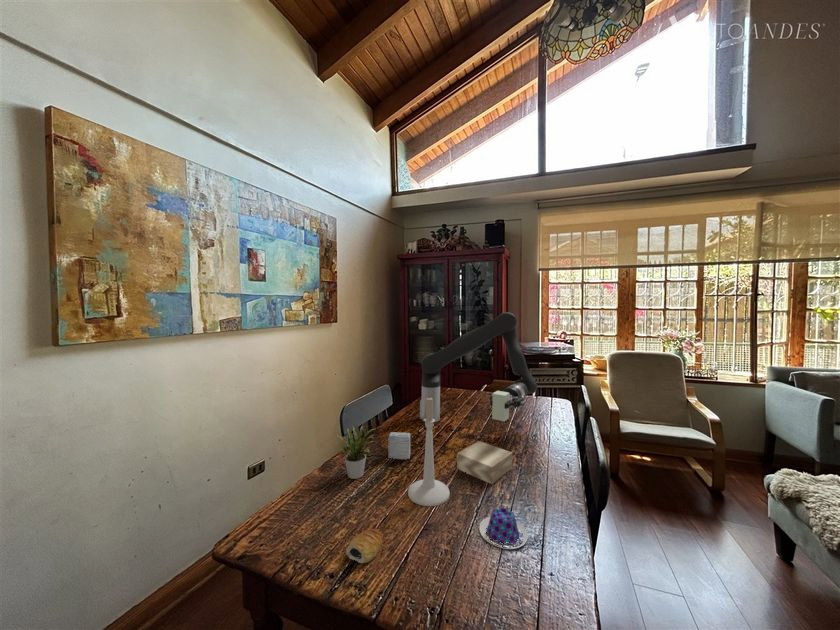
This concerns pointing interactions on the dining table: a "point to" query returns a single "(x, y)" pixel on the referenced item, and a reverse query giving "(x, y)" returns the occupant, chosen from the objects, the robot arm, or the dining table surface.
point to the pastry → (365, 546)
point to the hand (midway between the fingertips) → (498, 404)
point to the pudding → (502, 527)
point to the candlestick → (429, 471)
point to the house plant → (356, 453)
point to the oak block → (484, 461)
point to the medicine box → (399, 445)
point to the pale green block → (500, 406)
